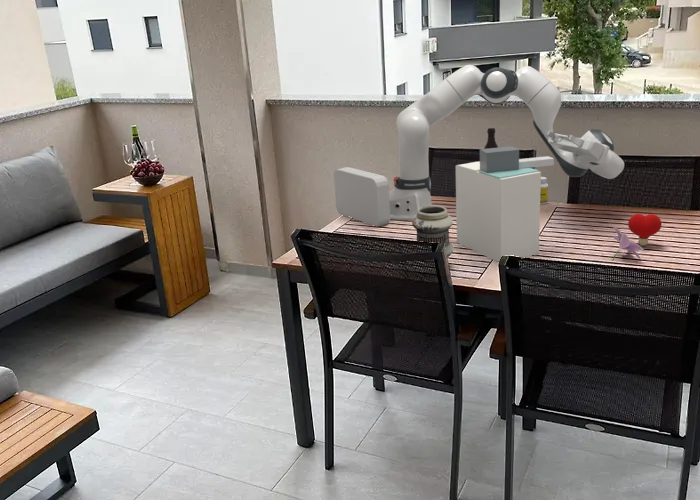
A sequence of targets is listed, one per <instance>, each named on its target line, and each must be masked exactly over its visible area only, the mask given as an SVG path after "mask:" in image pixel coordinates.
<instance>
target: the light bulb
mask: <svg viewBox="0 0 700 500" xmlns="http://www.w3.org/2000/svg"><path fill="white" fill-rule="evenodd" d="M627 226H628V229H629V230H630V231H631V233H632V234H634V235H635V236H637V237H638V245H639V246H640V247H645V246H647V245H648V244H649V238H650V237H651V236H654V235H655V234H657V233H658V232H659V231H660V230H661V228H662V220H661V219H660V217H659V216H658V215H657V214H654V213H649V214H646V215H644V214H641V213H635V214H633V215H632V216H631V217H630V218H629V220H628V222H627Z"/></svg>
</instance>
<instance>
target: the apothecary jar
mask: <svg viewBox="0 0 700 500" xmlns="http://www.w3.org/2000/svg"><path fill="white" fill-rule="evenodd" d="M453 222H454V220H453V218H452V216H450V214H448V210H447V208H446V207H445V206H442V205H433V204H432V206H424V207H421V208H419V209H418V213H417V216H415V217H414V219H413V220H412V223H411V224H412V227H413V228H414V229H415V231H416V242H417V241H423V242H439V243H444V244H445V247H446V254H447V258H449V257H450V256H451V255H452V254H453V253H454V251H455V250H454V244H453V243H452V242H451V241H450V234H449V229H450V228H451V227H452V225H453ZM449 267H450V268H451V264H450V263H449Z"/></svg>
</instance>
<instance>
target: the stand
mask: <svg viewBox="0 0 700 500" xmlns="http://www.w3.org/2000/svg"><path fill="white" fill-rule="evenodd" d="M541 177H542V171H539V169H537V168H536V169H535V168H533V167H532V168H522V169H519V170H511V171H501V172H492V173H486V172H484V171H482V170H481V169H480V160H479V161H473V162H468V163H463V164H462V163H461V164H456V165H455V205H456V207H455V211H456V218H455V221H456V243H457V244H459V245H462V246H464V247H466V248H468V249H470V250H473V251H474V252H476V253H478V254H481V255H483V256H485V257H487V258H489V259H491V260H493V261H495V262H497V263H499V262H498V261H499V260H500V258H501V257H502V256H504V255H514V256H519V257H526V258H528V257H527V256H530V257H532V255H534V256H537V255H540V227H541V226H540V225H541V224H540V222H541V221H540V220H541V204H540V191H541Z"/></svg>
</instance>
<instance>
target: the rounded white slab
mask: <svg viewBox="0 0 700 500" xmlns="http://www.w3.org/2000/svg"><path fill="white" fill-rule="evenodd" d="M333 182H334V194H335V208H336V211H337V213H338V214H339V215H342V216H344V215H345V216H344V217H347V216H350V217H352V218H354V219H353V220H355V219H357V220H356V221H358V220H359V221H358V222H360V221H362V222H361V223H363V222H365V223H364V224H366V223H367V224H366V225H369V224H370V225H369V226H371V225H374V226H376V227H381V226H385V225H388V224H389V223H390V221H391V219H390V205H389V192H390V189H389V180H388V178H387V177H386V176H384V175H382V174H377V173H373V172H369V171H365V170H362V169H357V168H355V167H354V168H353V167H349V166H345V167H341V168H337V169H334V172H333ZM352 218H351V219H352ZM374 226H373V227H374ZM376 227H375V228H376Z"/></svg>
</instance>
